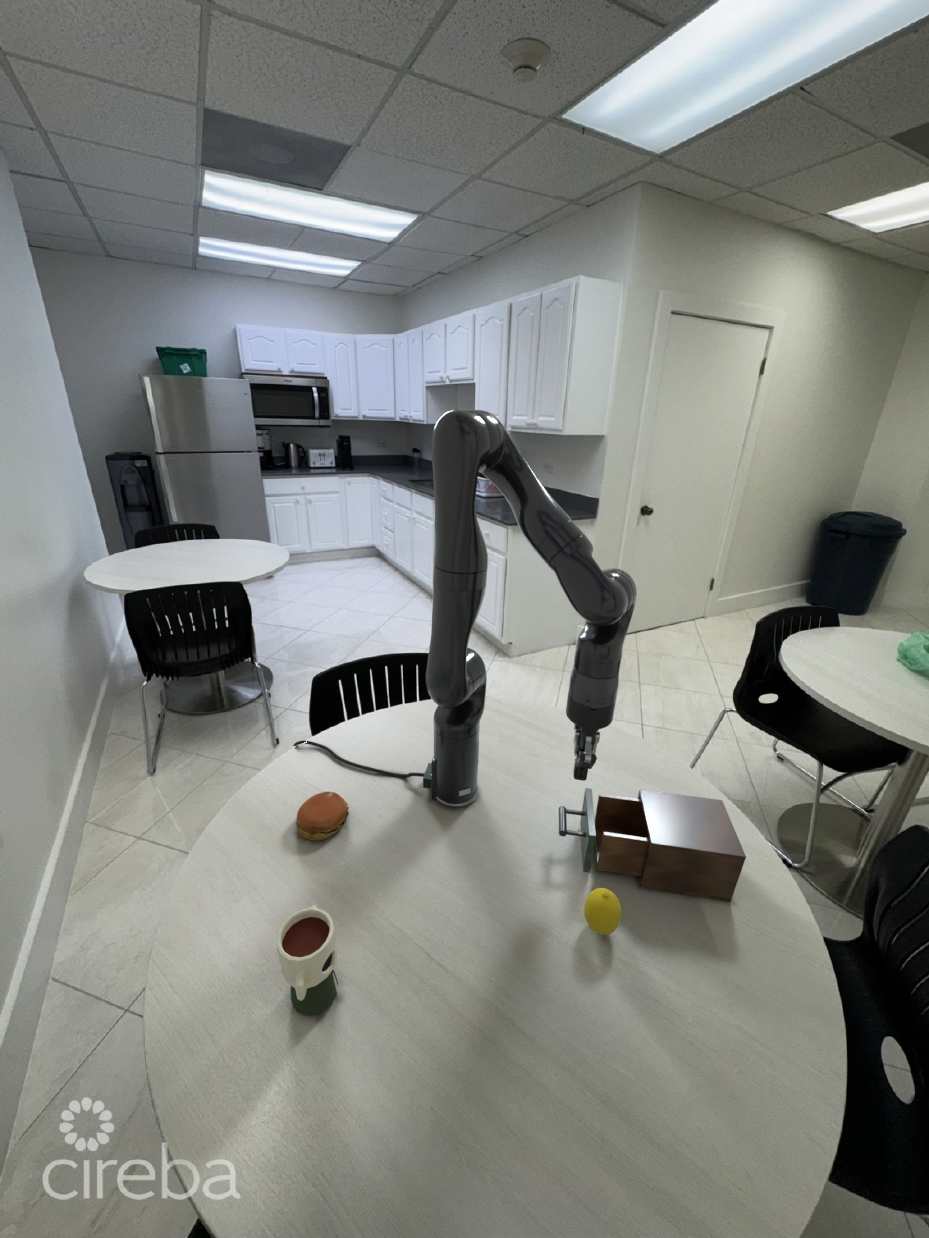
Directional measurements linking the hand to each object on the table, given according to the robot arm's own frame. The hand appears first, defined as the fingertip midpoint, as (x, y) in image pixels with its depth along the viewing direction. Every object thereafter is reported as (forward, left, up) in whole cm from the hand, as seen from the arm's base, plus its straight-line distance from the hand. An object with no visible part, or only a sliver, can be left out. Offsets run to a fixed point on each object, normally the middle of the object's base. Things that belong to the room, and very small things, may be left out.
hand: (579, 777), depth 86 cm
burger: (-48, -3, -17) cm, 51 cm away
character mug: (-36, -32, -17) cm, 51 cm away
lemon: (+4, -15, -17) cm, 23 cm away
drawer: (+7, 0, -16) cm, 17 cm away
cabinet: (+19, 0, -17) cm, 26 cm away
